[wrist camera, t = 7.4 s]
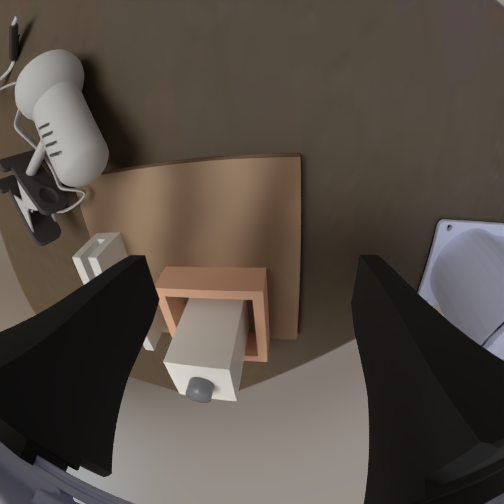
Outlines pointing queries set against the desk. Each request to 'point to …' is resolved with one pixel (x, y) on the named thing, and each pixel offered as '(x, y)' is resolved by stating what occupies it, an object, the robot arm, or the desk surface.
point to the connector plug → (209, 349)
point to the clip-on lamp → (51, 139)
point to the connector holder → (218, 297)
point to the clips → (103, 257)
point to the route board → (210, 220)
